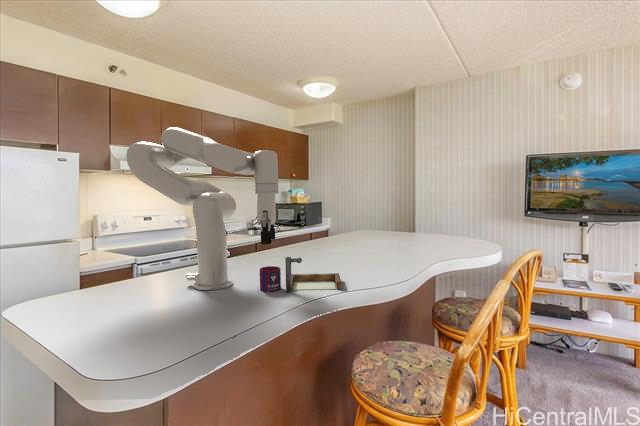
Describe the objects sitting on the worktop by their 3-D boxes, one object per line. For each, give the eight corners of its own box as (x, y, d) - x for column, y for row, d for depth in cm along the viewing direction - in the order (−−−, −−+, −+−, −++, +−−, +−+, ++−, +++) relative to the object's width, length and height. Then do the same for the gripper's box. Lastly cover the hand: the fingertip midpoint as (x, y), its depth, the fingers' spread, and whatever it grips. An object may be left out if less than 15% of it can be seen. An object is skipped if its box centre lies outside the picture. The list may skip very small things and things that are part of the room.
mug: (263, 293, 101) (263, 271, 100) (254, 285, 110) (254, 265, 109) (283, 290, 104) (283, 269, 103) (273, 282, 113) (273, 263, 112)
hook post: (285, 292, 101) (285, 257, 100) (286, 291, 103) (285, 256, 102) (302, 292, 101) (301, 257, 100) (302, 290, 103) (302, 256, 102)
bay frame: (286, 290, 103) (286, 282, 103) (289, 281, 114) (289, 274, 114) (341, 289, 103) (341, 281, 103) (338, 280, 114) (338, 273, 114)
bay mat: (292, 290, 103) (292, 289, 103) (294, 282, 112) (294, 281, 112) (335, 289, 104) (335, 288, 104) (334, 281, 113) (334, 281, 113)
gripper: (259, 190, 113) (261, 238, 114) (249, 189, 96) (251, 246, 97) (281, 189, 113) (282, 237, 114) (275, 188, 96) (276, 245, 97)
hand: (268, 241), depth 106 cm, fingers open, 9 cm apart
